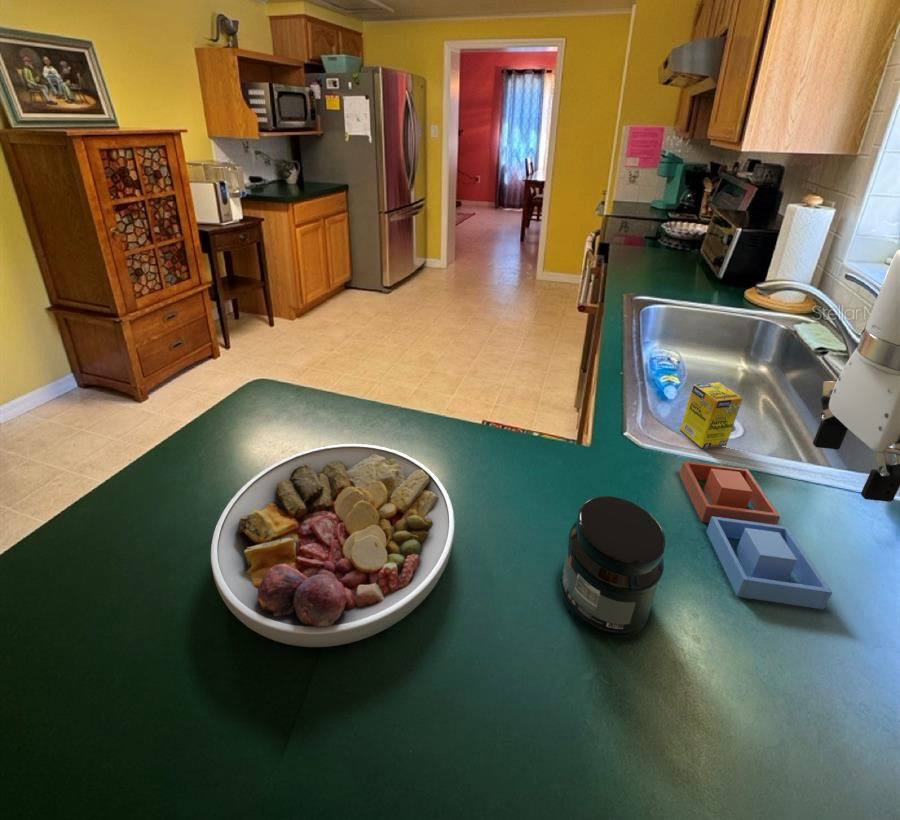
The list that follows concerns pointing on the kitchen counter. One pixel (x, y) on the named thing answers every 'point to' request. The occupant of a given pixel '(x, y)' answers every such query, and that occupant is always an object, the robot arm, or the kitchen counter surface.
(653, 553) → the supplement container
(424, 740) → the kitchen counter surface
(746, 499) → the terracotta block
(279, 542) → the bowl
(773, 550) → the blue block
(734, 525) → the blue bin
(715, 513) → the terracotta bin
